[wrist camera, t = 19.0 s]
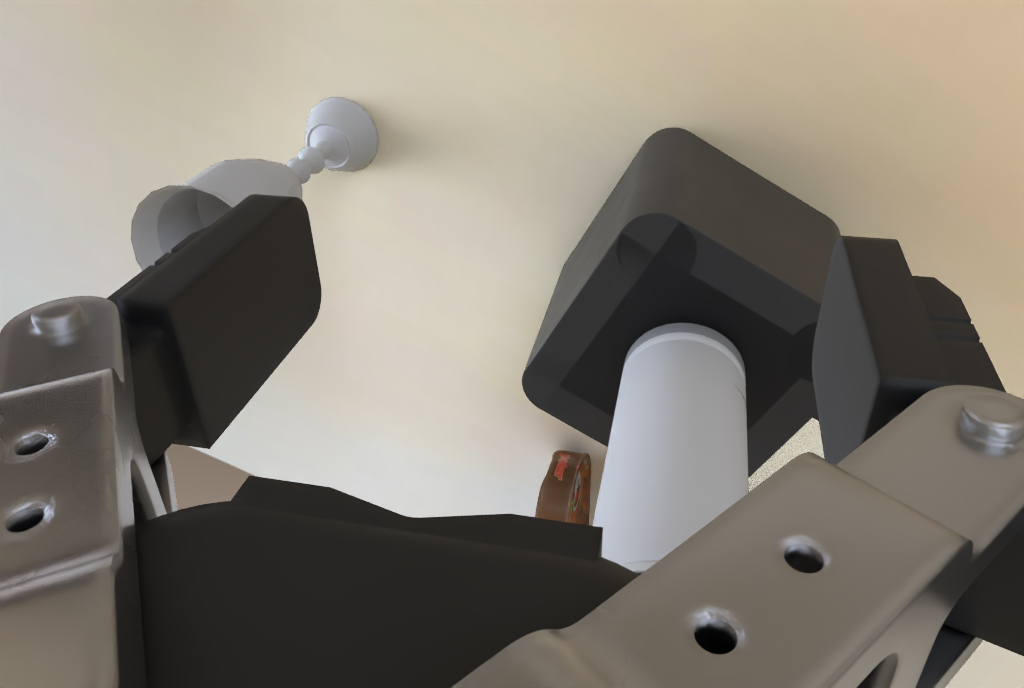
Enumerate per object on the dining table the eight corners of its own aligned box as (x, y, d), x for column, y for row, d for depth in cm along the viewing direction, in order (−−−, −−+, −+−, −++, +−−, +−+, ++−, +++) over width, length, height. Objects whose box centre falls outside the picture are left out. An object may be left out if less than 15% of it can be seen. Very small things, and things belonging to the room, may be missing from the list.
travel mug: (776, 365, 41) (807, 727, 25) (688, 437, 45) (664, 793, 28) (682, 293, 40) (650, 620, 24) (600, 372, 44) (522, 703, 27)
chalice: (333, 58, 51) (173, 154, 36) (412, 135, 53) (289, 257, 38) (274, 134, 55) (107, 249, 40) (350, 204, 56) (216, 339, 42)
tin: (587, 564, 71) (571, 644, 64) (551, 558, 71) (532, 637, 64) (593, 431, 63) (575, 506, 56) (553, 426, 63) (531, 500, 56)
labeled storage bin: (551, 284, 56) (509, 392, 46) (662, 115, 48) (643, 198, 38) (759, 405, 58) (766, 537, 47) (901, 261, 50) (947, 380, 39)
